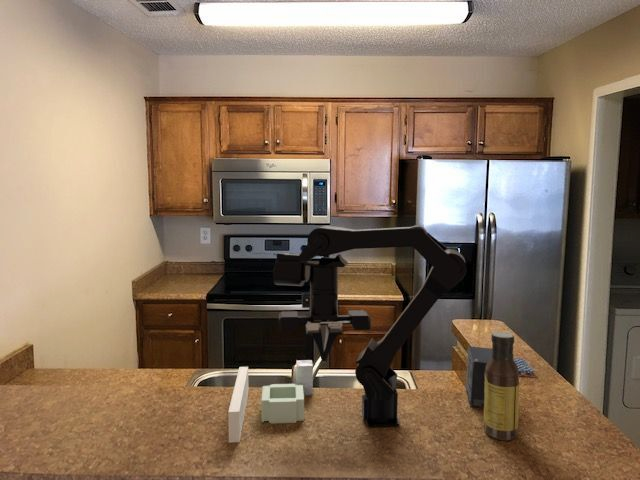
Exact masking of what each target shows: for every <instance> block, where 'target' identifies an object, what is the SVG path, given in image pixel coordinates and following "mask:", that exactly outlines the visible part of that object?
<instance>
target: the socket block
mask: <svg viewBox="0 0 640 480" xmlns="http://www.w3.org/2000/svg"><path fill="white" fill-rule="evenodd" d="M261 391H262V392H261V401H260V402H261V404H260V406H261V412H260V413H261V422H262V423H265V422H264V421H269V423H271V424H294V423H295V424H297V421H298V422H299V421H302V422H303V421H305V396H304V394H303V385H297V384H296V383H274V384H273V383H272V384H270V385H263V386H262V390H261Z"/></svg>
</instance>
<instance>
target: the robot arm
mask: <svg viewBox="0 0 640 480" xmlns="http://www.w3.org/2000/svg"><path fill="white" fill-rule="evenodd" d="M306 242H307V244H306V245H305V247H304V248H303V249H302V251H300V253H288V252H278V253H276V260H275V262H274V265H273V270H272V279H273V283H274V285H276V286H291V287H292V286H293V287H294V286H295V287H303V286H304V285H305V282H308V281H310V282H309V287H310V288H309V292H302V293H301V307H302V308H301V309H308V314H309V315H298V314H299V313H298V311H296V310H295V311H294V310H292V311H290V310H289V311H281V312H280V313H279V314H278V332H281V333H283V332H285V333H289V332H293V333H294V332H295V331H296V330H297V329H298V328H299V326H305V331H306V335H308V336H311V337H312V338H313V340H314V342H315V345H316V347H317V350H318V352H319V355H320V359H321V362H326V361H327V360H328V356H329V354H330V352H331V349H332V347H333V345H334V342H335V341H336V339H337V338H338V336H339V335H343V329H342V327H343V325H351V327H352V328H353V329H354V330H355V331H369V330H371V328H372V327H371V322H372V321H371V318H370V315H369V313H367V311H366V310H364V309H360V310H357V309H356V310H355V309H354V310H350V309H349V310H348V311H347V314H346V315H345V314H343V315H339V310H338V307H339V305H338V304H339V297H338V296H339V293H338V292H339V268H345V267H347V265H348V264H349V261H347V260H346V259H345V258H344V257H343V256H342V254H341V253H343V252H347V251H351V250H356V249H357V250H362V249H381V248H382V249H384V248H385V249H387V248H404V247H405V248H406V247H407V248H408V247H410V248H413V249H414V250H416V251H417V253H418V254H419V255H420V256H421V257H422V258H423V259H424V260H425V261H426V262H427V263H429V265H431V268H430V270H429V272H428V274H427V276H426V279H425V280H424V282H423V284H422V286H421V287H420V289H419V290H418V292H416V294H415V295H414V296H413V298H412V299H411V300H410V302H409V303H408V305H406V307H405V308H404V310H403V311H402V312H401V314H400V315H399V316H398V318H397V319H396V321H395V322H393V324H392V325H391V327H390V329H389V330H388V331H387V332H386V334H385V335H384V336H383V337H382V338H381V339H379V340H378V341H375V340H374V339H373V338H371V339H370V340H369V343H368V345H367V346H366V347H365V348H364V349H363V350H361V351H360V353H359V355H358V358H357V360H356V361H355V364H357V366H356V368H355V370H354V373H355V378H356V380H357V381H358V383H359V384H360V385H361V386H362V387H363V390H364V394H362V395H361V416H362V418H363V420H364V421H365V423H366V426H367V427H370V428H371V427H372V428H374V427H398V426H400V421H399V419H398V404H399V403H398V399H399V397H398V394H399V392H398V390H397V389H396V383H397V379H398V375H399V374H397V373H396V371H395V370H394V369H393V368H392V367H391V365H392V363H393V361H394V359H395V357H396V354H397V353H398V351H399V350H400V349H401V348H402V346H403V345H404V344H405V343H406V341H407V339H409V337H410V336H411V335H412V334H413V332H414V331H415V330H416V328H417V327H418V326H419V324H420V323H421V322H422V321H423V319H424V318H425V316H427V314H428V313H429V311H430V310H431V309H433V306H434V305H435V304H436V303H437V301H438V300H439V299H440V298H441V297H443V296H444V295H445V294H446V295H447V293H448V292H450V291H451V290H452V289H454V287H455V286H457V284H458V283H460V282H461V281H462V280H463V279H464V277H465V276H466V274H467V263H466V260H465V257H464V256H463V254H461V253H460V252H459V251H457V250H456V249H451V248H447V247H446V246H445V245H444V244H443V243H442V242H440V240H437V238H435V237H434V236H432V234H430V233H429V232H428V231H427V229H426V228H425V226H421V225H413V226H402V227H385V228H367V229H365V228H363V229H354V228H353V229H352V228H347V227H342V226H333V225H323V226H320V227H316V228H315V229H312V230H311V231H310V233H309V234H308V236H307V240H306ZM335 254H337V255H336V256H335V257H327V256H332V255H335ZM317 257H320V259H319V261H318V260H317V261H315V260H312V259H314V258H317ZM321 326H325V337H324V341H323V335H322V334H323V333H322V329H321ZM323 342H324V344H323Z"/></svg>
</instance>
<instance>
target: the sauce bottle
mask: <svg viewBox="0 0 640 480" xmlns="http://www.w3.org/2000/svg"><path fill="white" fill-rule="evenodd" d="M491 342H492V344H491V346H492V347H491V348H492V357H491V359H490V360H489V362H488V363H487V364H486V369H485V386H484V408H483V423H484V424H483V429H484V431H485V433H486V434H487V435H488V436H489V437H492V438H493V439H497V440H500V441H511V440H514V439H515V438H516V437H517V434H518V428H519V407H520V406H519V405H520V400H519V399H520V376H519V369H518V367H517V365H516V363H515V362H514V360H513V357H514V344H515V334H513V333H511V332H508V331H503V330H502V331H494V332H491Z"/></svg>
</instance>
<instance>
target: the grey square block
mask: <svg viewBox="0 0 640 480" xmlns="http://www.w3.org/2000/svg"><path fill="white" fill-rule="evenodd" d="M313 376H314V364H313V360H312V359H306V360H305V359H303V360H302V359H301V360H297V359H296V385H303V394H304V397H305V396H313V395H314V393H313V391H314V390H313V388H314V387H313V385H314V382H313V381H314V377H313Z"/></svg>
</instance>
